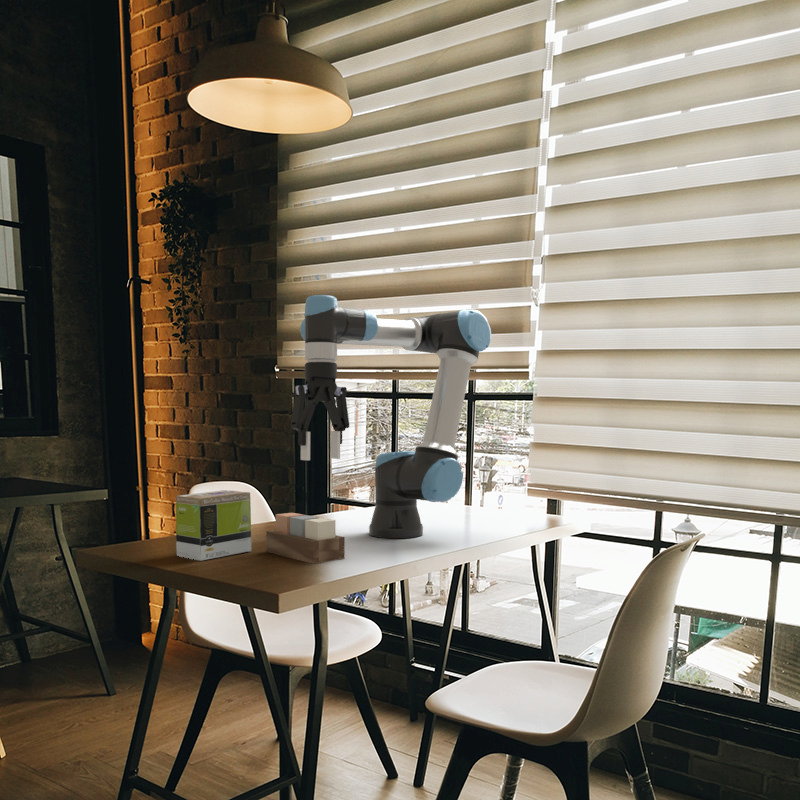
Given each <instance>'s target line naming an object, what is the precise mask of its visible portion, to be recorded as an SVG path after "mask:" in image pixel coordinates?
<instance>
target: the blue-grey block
mask: <svg viewBox="0 0 800 800" xmlns="http://www.w3.org/2000/svg"><path fill="white" fill-rule="evenodd" d="M318 518H320V516H314V515H313V516H312V515H308V514H307V515H306V514H304V516H296V517H290V535H295V536H300V537H305V520H310V519H318Z"/></svg>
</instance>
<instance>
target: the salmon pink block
mask: <svg viewBox="0 0 800 800" xmlns="http://www.w3.org/2000/svg"><path fill="white" fill-rule="evenodd" d="M296 516H305V514H301V513H298V512H297V513H295V512H287V513H286V512H285V513H277V514H275V523H274V524H275V529H274V530H275V531H277V532H281V533H286V534H288V533H290V517H296Z"/></svg>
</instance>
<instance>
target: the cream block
mask: <svg viewBox="0 0 800 800" xmlns="http://www.w3.org/2000/svg"><path fill="white" fill-rule="evenodd" d="M335 535H336V519H330V518H325V517H319V518H318V519H310V520H305V538H309V539H313V540H324V539H331V538H335Z"/></svg>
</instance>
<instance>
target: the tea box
mask: <svg viewBox="0 0 800 800" xmlns="http://www.w3.org/2000/svg"><path fill="white" fill-rule="evenodd" d="M251 504H252V503H251V492H250V491H238V490H226V489H225V490H224V489H223V490H216V491H205V492H198V493H189V494H182V495H181V494H180V495H176V496H175V517H176V518H175V519H176V520H175V521H176V522H175V523H176V525H175V529H176V531H175V533H176V534H175V540H176V544H175V545H176V546H175V547H176V556H177V557H178V556H179V557H180V558H183V557H184V558H183V559H188V558H189V560H193V559H194V561H199V562H201V561H207V560H211V559H216V558H217V559H218V558H222V557H226V556H232V555H238V554H242V553H247V552H251V551H252V516H251V515H252V513H251V512H252V511H251V510H252V509H251V507H252V506H251Z"/></svg>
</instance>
